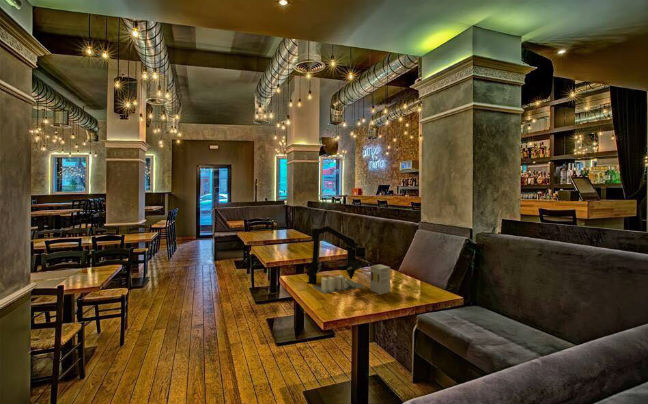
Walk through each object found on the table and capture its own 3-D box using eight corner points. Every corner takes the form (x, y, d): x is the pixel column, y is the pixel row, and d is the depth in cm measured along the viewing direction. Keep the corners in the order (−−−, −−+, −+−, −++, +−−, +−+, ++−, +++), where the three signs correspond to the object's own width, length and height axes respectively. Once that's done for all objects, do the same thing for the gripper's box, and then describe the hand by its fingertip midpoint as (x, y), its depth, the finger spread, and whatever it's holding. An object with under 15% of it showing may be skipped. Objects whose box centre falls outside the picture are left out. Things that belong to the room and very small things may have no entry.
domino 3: (334, 287, 232) (334, 276, 232) (336, 287, 233) (337, 275, 233) (338, 289, 228) (338, 277, 228) (340, 289, 229) (341, 277, 228)
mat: (311, 287, 236) (311, 286, 236) (350, 281, 251) (350, 280, 251) (324, 294, 220) (324, 293, 220) (365, 287, 236) (365, 286, 236)
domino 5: (349, 285, 238) (341, 279, 235) (350, 282, 239) (343, 277, 235) (353, 287, 234) (345, 281, 230) (354, 284, 234) (347, 278, 231)
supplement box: (369, 291, 228) (369, 265, 227) (379, 288, 233) (379, 263, 232) (380, 294, 220) (380, 268, 219) (390, 292, 225) (390, 266, 225)
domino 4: (340, 286, 235) (337, 276, 233) (343, 285, 236) (340, 274, 234) (344, 288, 230) (341, 277, 229) (347, 287, 231) (344, 276, 230)
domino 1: (321, 290, 227) (321, 278, 227) (324, 289, 228) (324, 277, 228) (325, 292, 223) (325, 279, 223) (327, 291, 224) (327, 279, 224)
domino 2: (328, 289, 230) (328, 277, 229) (330, 288, 231) (330, 276, 230) (331, 291, 225) (331, 278, 225) (334, 290, 226) (334, 278, 226)
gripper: (346, 259, 223) (346, 283, 224) (369, 257, 232) (369, 279, 233) (337, 256, 233) (336, 279, 234) (359, 254, 242) (359, 276, 243)
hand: (351, 278), depth 236 cm, fingers closed
